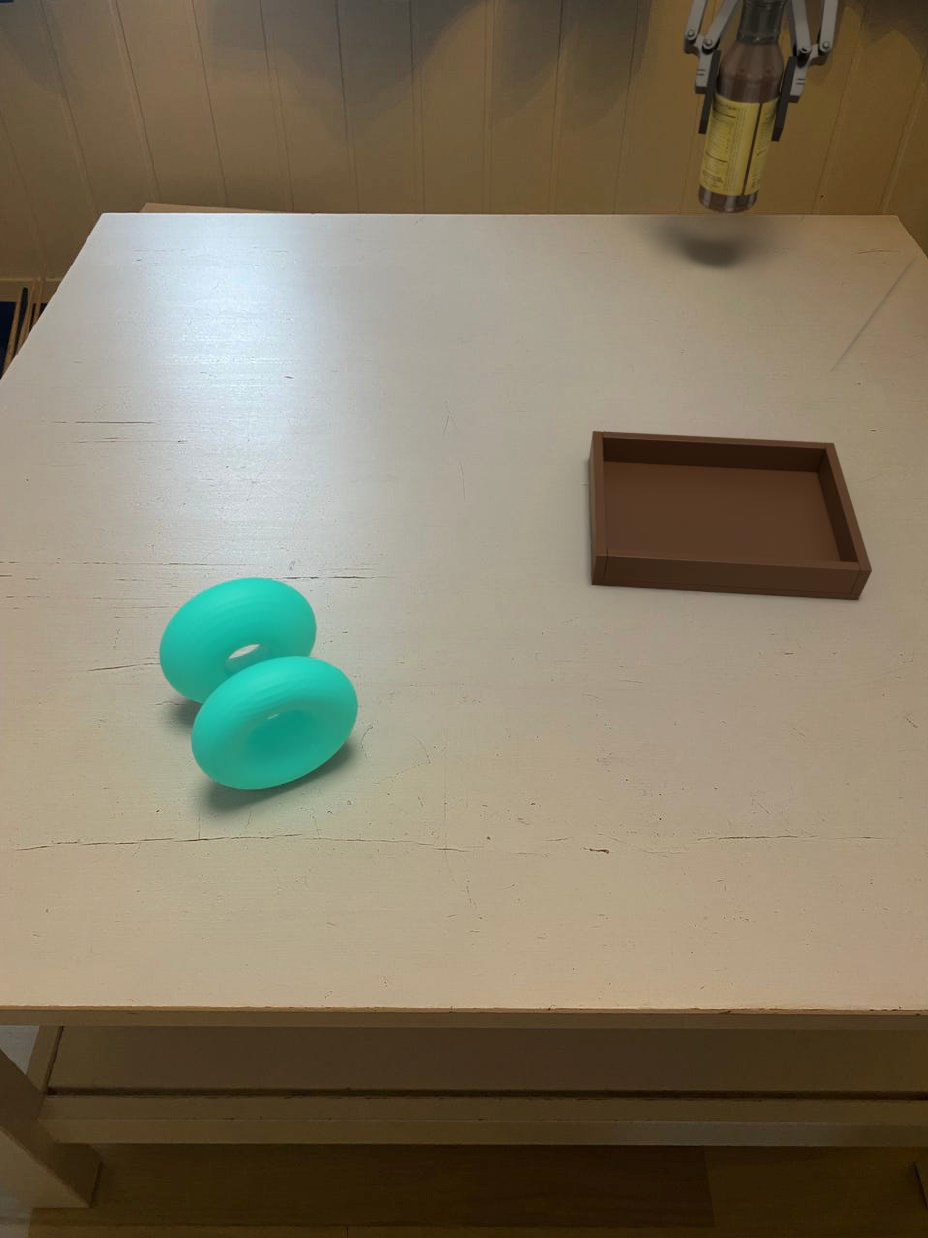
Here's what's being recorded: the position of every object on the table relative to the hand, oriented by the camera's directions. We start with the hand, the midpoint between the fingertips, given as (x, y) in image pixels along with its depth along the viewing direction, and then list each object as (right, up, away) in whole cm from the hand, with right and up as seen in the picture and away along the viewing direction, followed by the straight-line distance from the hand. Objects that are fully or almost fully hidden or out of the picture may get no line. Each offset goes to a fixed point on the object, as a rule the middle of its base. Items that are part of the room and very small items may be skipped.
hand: (739, 130), depth 90 cm
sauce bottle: (+1, -3, +9) cm, 9 cm away
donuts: (-39, -54, -28) cm, 72 cm away
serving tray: (-6, -39, -15) cm, 42 cm away
